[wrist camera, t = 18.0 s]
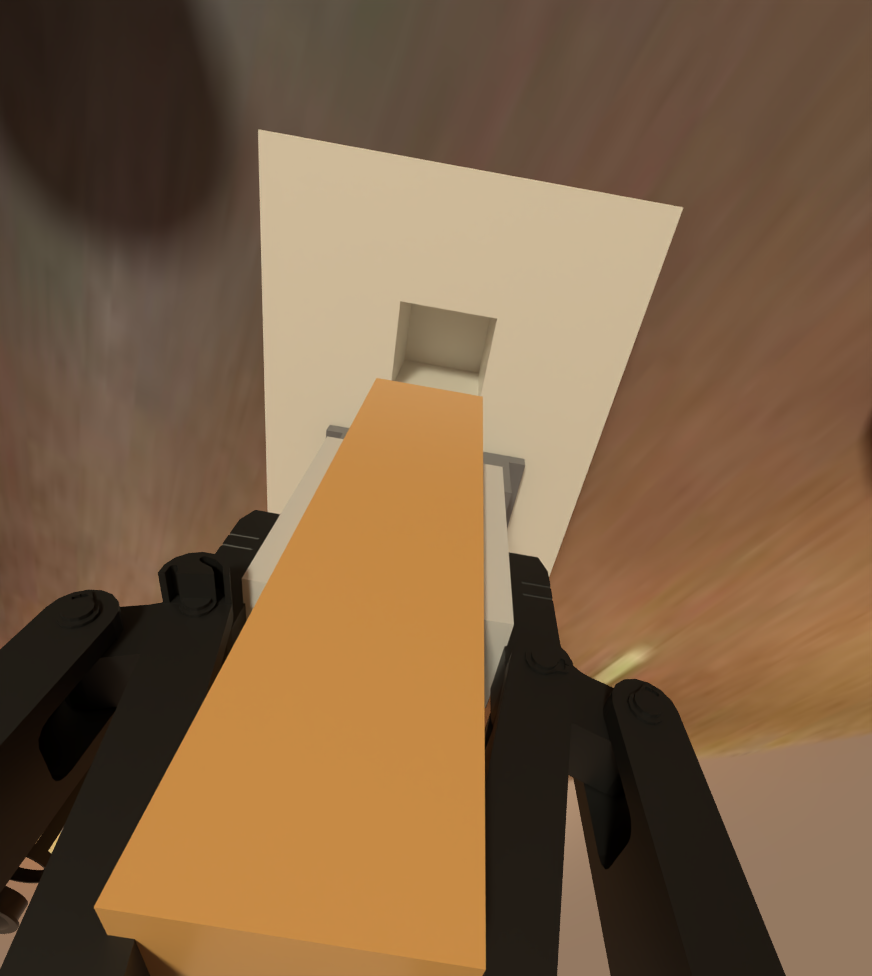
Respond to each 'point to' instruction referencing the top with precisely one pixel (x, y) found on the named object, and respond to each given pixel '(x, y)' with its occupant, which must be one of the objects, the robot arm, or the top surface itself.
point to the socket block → (450, 308)
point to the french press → (9, 904)
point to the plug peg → (338, 734)
